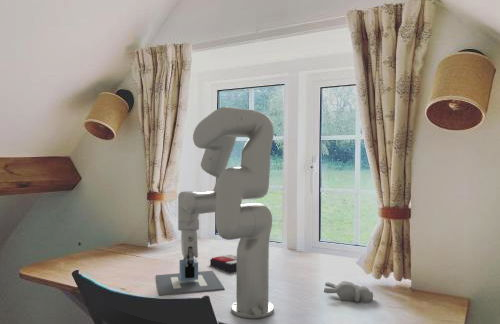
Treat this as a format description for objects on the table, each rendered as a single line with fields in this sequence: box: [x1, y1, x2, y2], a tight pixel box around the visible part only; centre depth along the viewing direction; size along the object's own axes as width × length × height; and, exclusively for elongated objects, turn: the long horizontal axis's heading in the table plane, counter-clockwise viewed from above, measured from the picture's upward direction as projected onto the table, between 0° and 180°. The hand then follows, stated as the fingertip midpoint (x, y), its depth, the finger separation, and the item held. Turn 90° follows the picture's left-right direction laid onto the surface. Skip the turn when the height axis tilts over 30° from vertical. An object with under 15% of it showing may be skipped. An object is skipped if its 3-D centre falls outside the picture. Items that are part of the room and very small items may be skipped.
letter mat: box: [155, 270, 225, 297], centre depth 137 cm, size 22×22×1 cm
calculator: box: [209, 254, 237, 274], centre depth 158 cm, size 11×4×15 cm
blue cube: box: [179, 258, 199, 281], centre depth 137 cm, size 6×6×6 cm
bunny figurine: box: [323, 280, 374, 304], centre depth 121 cm, size 10×5×15 cm
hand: (188, 274), depth 137 cm, fingers closed on blue cube, 6 cm apart
